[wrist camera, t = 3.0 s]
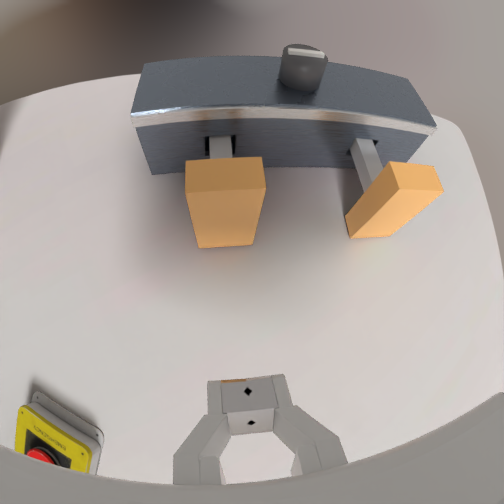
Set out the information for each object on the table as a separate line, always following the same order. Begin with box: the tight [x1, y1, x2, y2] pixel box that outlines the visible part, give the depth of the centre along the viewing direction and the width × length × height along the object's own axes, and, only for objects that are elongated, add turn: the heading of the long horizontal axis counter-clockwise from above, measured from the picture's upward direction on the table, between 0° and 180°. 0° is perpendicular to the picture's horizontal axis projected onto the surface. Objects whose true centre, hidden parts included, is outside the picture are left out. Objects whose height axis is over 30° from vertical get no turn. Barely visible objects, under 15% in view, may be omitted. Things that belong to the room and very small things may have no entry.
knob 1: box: [185, 135, 266, 248], centre depth 24 cm, size 14×5×10 cm, turn 6°
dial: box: [278, 44, 328, 91], centre depth 21 cm, size 4×4×3 cm
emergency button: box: [14, 391, 104, 475], centre depth 16 cm, size 9×4×15 cm
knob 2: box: [345, 138, 444, 238], centre depth 26 cm, size 14×5×10 cm, turn 6°
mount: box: [131, 56, 437, 175], centre depth 27 cm, size 8×30×10 cm, turn 96°
